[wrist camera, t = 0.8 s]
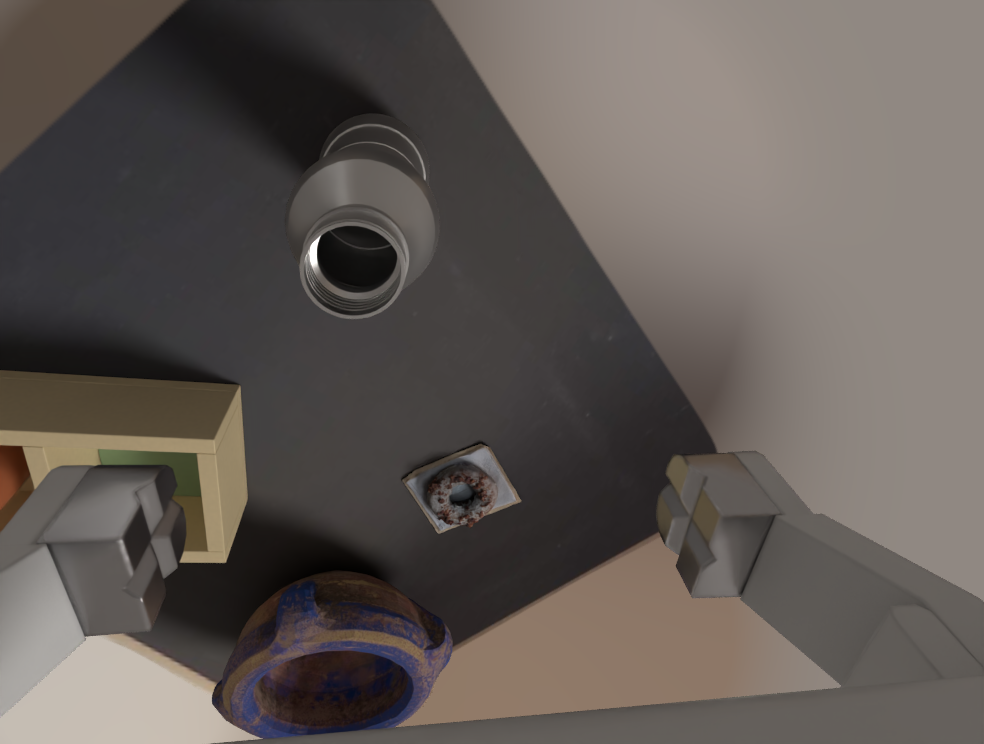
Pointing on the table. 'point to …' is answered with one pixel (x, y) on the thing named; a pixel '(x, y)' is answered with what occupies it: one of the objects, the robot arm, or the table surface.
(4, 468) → the orange cylinder
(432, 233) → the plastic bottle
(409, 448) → the table surface
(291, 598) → the bowl
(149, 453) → the divided box
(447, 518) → the donut
